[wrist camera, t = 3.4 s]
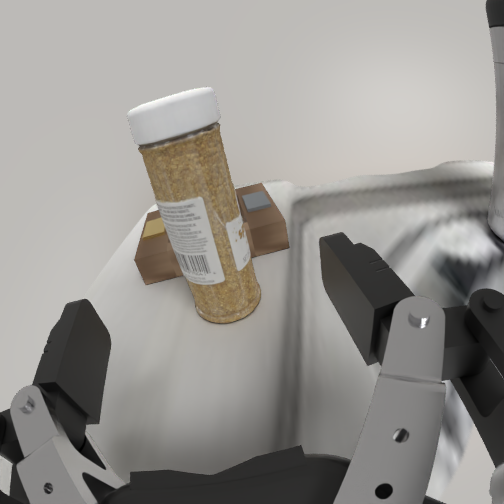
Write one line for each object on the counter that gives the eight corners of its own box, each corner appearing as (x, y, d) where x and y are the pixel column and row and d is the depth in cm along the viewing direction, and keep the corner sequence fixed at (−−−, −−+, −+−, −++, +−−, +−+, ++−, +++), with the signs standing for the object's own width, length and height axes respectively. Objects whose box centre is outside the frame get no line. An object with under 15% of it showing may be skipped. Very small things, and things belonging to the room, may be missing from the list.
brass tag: (167, 218, 28) (166, 215, 28) (165, 234, 26) (164, 231, 25) (147, 224, 28) (146, 221, 28) (143, 240, 26) (142, 237, 25)
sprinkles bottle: (276, 296, 20) (231, 80, 13) (222, 337, 18) (145, 103, 11) (232, 272, 24) (184, 90, 16) (183, 306, 21) (114, 113, 14)
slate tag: (263, 193, 29) (262, 190, 29) (271, 206, 26) (270, 203, 26) (242, 198, 29) (241, 195, 28) (248, 212, 26) (247, 209, 26)
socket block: (265, 204, 33) (261, 182, 31) (289, 247, 25) (285, 220, 24) (155, 234, 32) (147, 213, 31) (145, 284, 24) (134, 259, 23)
